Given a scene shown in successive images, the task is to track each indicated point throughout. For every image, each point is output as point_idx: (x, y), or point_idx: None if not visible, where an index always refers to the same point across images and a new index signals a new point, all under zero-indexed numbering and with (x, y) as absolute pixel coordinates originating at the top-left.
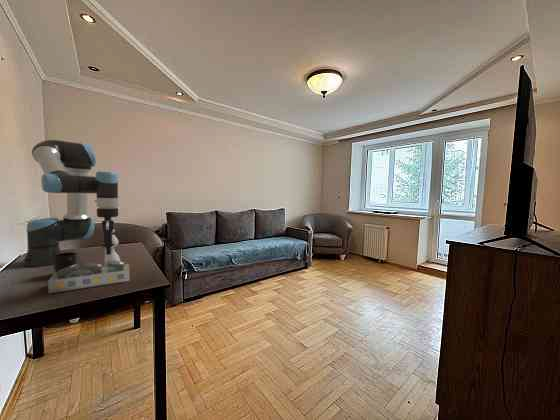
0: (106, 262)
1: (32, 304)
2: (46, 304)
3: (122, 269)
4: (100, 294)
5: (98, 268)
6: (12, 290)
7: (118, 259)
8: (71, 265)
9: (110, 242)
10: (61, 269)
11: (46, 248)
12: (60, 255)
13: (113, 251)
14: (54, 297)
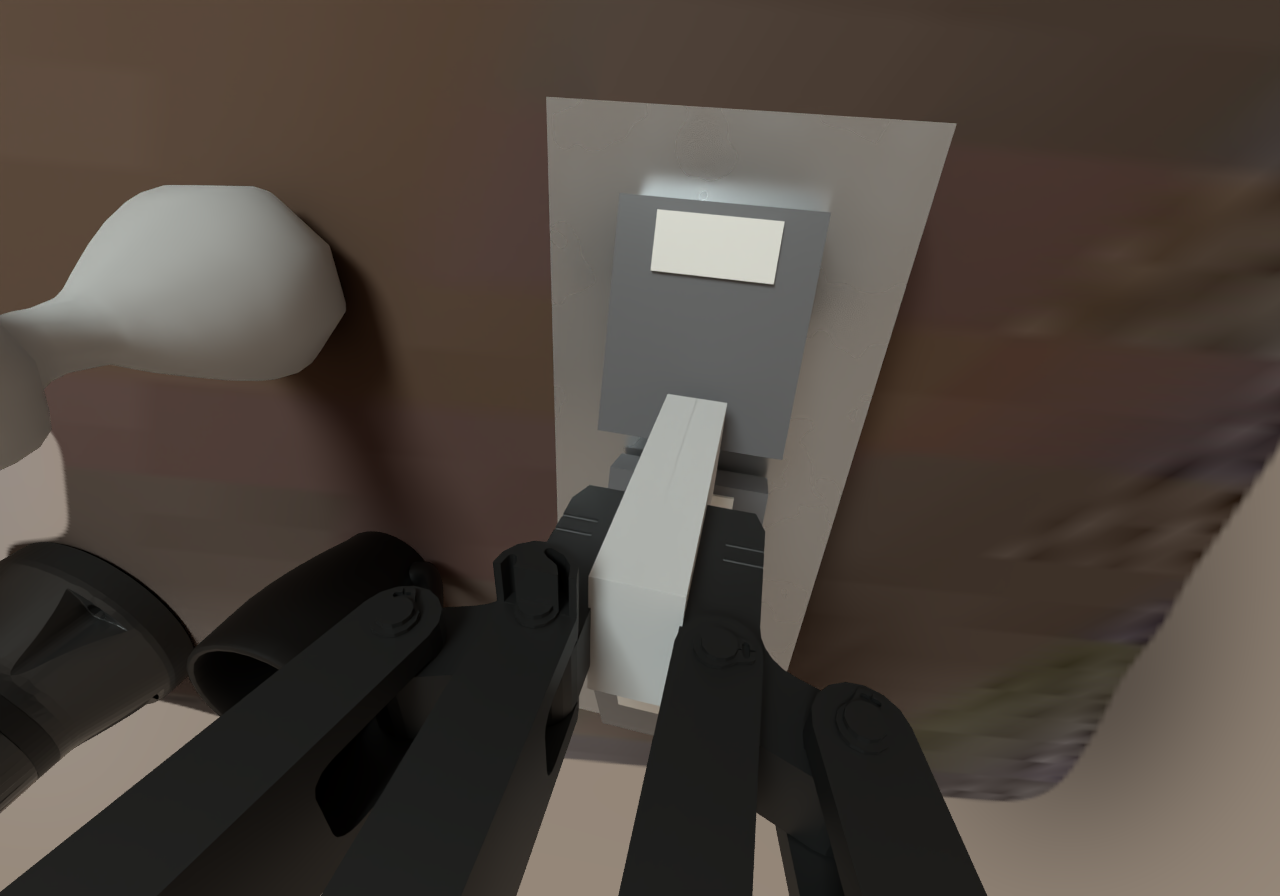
0: (295, 353)
1: (913, 728)
2: (984, 694)
3: (836, 230)
4: (1118, 443)
5: (762, 519)
6: (589, 744)
7: (218, 221)
8: None
9: (957, 877)
10: (612, 720)
11: (29, 711)
12: (241, 698)
13: (93, 311)
14: (875, 656)
